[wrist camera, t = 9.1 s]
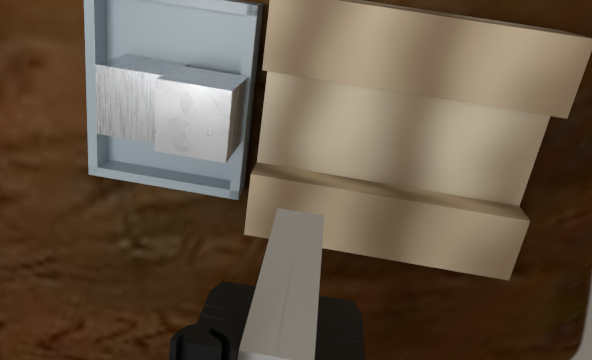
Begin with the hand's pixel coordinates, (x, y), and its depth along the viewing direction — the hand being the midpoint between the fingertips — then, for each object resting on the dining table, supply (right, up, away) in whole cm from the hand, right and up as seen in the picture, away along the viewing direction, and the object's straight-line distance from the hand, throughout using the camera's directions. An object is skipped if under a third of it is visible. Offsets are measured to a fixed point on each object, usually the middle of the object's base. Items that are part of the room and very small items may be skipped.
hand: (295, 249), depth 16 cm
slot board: (+6, +6, +15) cm, 17 cm away
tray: (-8, +8, +16) cm, 19 cm away
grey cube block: (-7, +7, +14) cm, 17 cm away
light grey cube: (-5, +7, +14) cm, 16 cm away
